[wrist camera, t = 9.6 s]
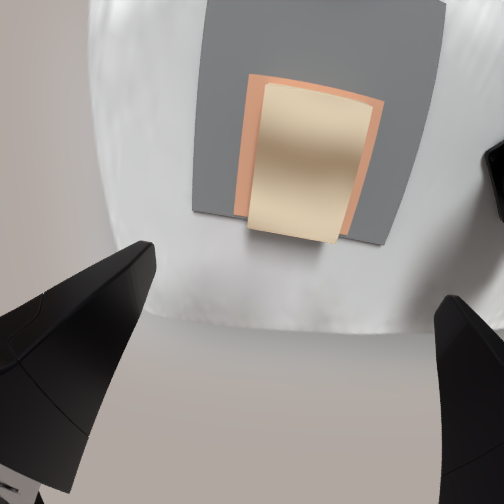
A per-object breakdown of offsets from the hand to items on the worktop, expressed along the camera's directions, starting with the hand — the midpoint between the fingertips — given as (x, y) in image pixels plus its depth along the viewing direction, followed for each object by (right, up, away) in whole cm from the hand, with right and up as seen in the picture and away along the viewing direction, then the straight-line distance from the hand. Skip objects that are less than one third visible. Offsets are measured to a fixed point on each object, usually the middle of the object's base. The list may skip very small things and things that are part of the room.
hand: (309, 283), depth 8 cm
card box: (+2, +7, +9) cm, 11 cm away
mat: (+2, +10, +7) cm, 13 cm away
